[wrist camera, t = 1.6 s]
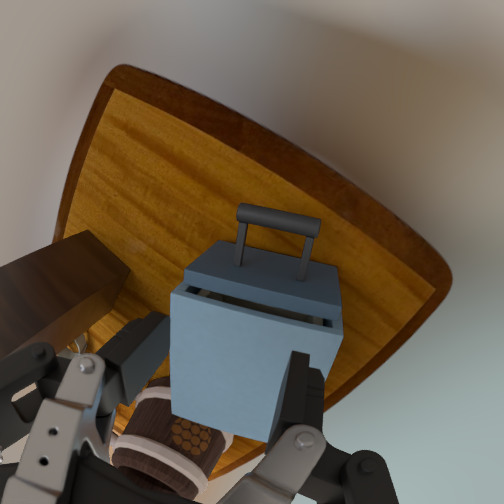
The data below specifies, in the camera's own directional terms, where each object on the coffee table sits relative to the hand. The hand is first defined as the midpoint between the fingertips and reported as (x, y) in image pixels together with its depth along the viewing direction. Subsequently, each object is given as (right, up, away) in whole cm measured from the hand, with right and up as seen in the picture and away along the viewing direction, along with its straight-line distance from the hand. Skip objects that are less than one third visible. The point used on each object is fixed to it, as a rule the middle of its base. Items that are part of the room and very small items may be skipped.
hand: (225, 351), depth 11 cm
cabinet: (+2, -4, +20) cm, 20 cm away
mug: (-10, -18, +27) cm, 34 cm away
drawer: (+3, 0, +17) cm, 17 cm away
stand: (-19, +2, +23) cm, 29 cm away
